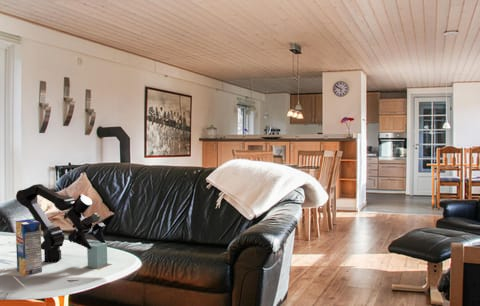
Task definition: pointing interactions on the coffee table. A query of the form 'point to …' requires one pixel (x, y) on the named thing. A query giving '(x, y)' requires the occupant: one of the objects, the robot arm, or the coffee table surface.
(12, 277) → the coffee table surface
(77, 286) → the coffee table surface
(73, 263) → the coffee table surface
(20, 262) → the beverage box
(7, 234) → the coffee table surface
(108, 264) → the coaster
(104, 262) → the pale teal block
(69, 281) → the mat
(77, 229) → the robot arm
